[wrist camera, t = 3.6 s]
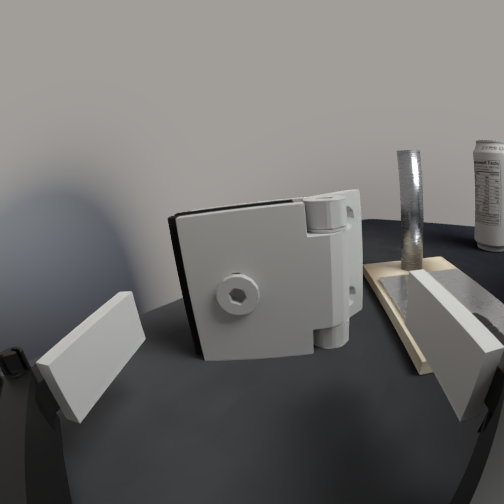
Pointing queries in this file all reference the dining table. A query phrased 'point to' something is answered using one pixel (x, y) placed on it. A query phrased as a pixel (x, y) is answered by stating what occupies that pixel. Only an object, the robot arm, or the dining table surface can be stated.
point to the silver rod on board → (412, 251)
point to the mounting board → (394, 269)
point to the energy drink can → (489, 195)
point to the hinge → (270, 275)
